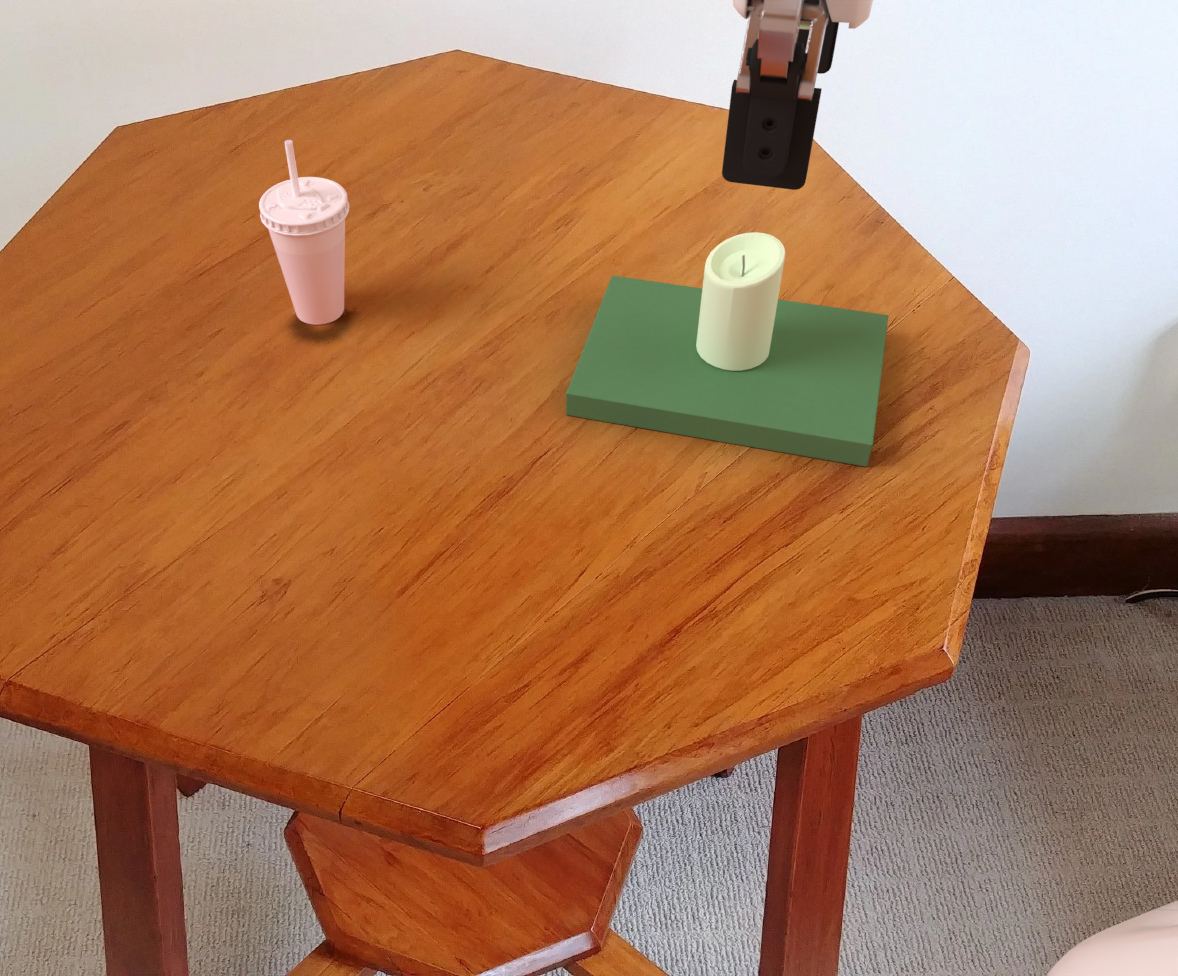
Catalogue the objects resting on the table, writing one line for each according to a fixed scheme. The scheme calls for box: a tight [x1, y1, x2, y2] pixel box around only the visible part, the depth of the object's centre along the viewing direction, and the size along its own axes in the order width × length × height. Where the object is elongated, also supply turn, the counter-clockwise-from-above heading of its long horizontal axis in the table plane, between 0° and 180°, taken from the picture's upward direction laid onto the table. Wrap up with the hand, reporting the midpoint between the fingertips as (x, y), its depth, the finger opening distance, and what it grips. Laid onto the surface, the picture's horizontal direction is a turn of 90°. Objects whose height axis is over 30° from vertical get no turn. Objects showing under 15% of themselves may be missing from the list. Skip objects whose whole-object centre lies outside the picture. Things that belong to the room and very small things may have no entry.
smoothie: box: [258, 139, 350, 326], centre depth 90 cm, size 6×6×14 cm
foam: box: [565, 275, 889, 468], centre depth 86 cm, size 20×14×2 cm
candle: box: [696, 231, 787, 371], centre depth 83 cm, size 5×5×8 cm
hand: (779, 121), depth 52 cm, fingers open, 9 cm apart
